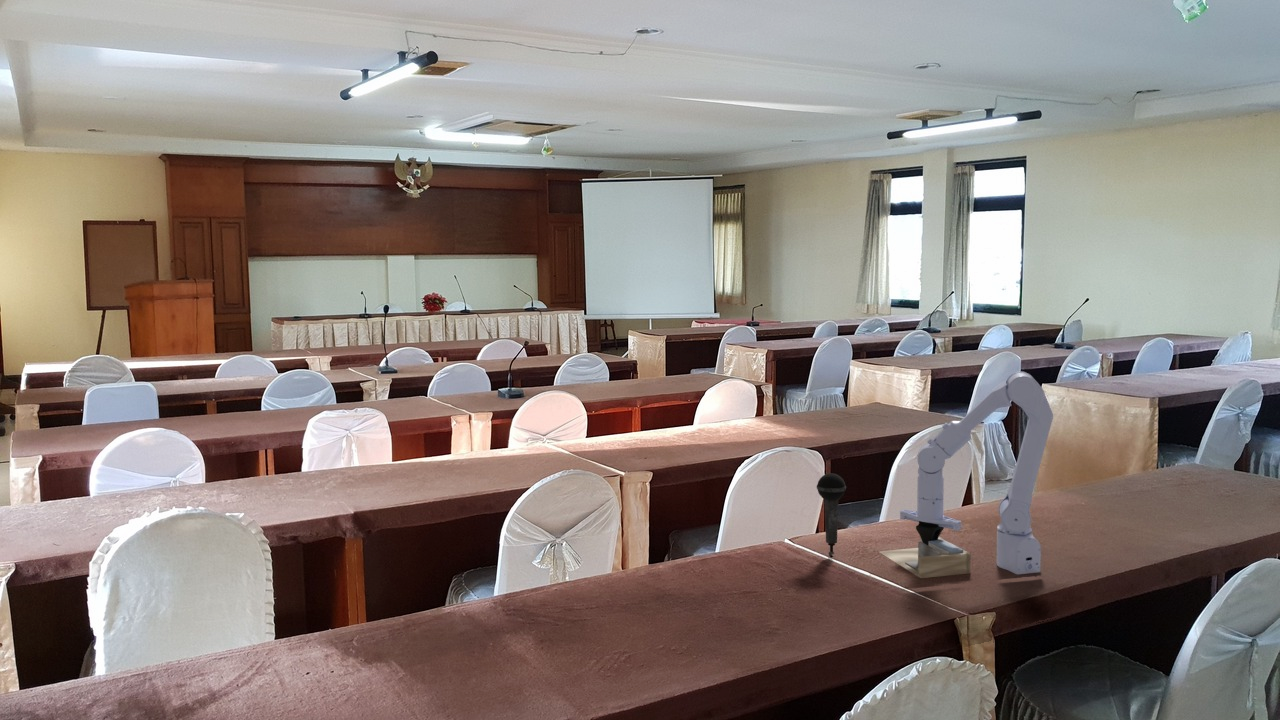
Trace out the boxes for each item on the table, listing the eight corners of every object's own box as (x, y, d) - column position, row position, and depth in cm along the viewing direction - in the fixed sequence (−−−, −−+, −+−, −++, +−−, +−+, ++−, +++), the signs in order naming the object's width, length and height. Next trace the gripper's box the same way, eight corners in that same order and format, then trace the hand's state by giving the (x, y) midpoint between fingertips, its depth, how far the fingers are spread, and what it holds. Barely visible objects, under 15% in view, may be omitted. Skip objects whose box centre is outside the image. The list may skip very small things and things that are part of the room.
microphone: (813, 558, 223) (812, 475, 221) (821, 550, 229) (821, 469, 227) (841, 562, 220) (841, 477, 218) (849, 554, 226) (849, 471, 224)
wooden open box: (970, 576, 208) (970, 551, 207) (920, 581, 205) (920, 556, 205) (924, 550, 227) (924, 527, 227) (878, 554, 225) (878, 531, 224)
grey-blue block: (962, 571, 209) (963, 549, 208) (949, 573, 208) (949, 551, 207) (941, 560, 216) (941, 539, 216) (927, 562, 215) (928, 541, 215)
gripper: (968, 499, 214) (967, 557, 215) (912, 488, 224) (911, 544, 226) (952, 505, 209) (951, 564, 210) (895, 494, 220) (894, 551, 221)
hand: (929, 555), depth 218 cm, fingers closed
